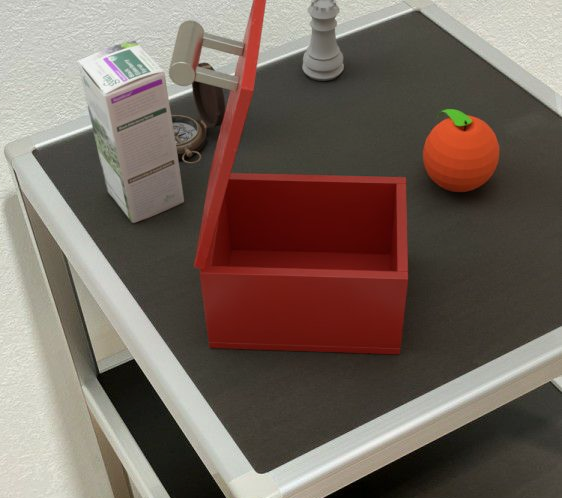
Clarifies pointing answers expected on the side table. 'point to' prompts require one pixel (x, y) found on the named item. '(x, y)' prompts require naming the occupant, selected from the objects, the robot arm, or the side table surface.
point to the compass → (211, 112)
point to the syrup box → (133, 129)
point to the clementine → (460, 152)
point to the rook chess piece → (323, 42)
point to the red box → (308, 264)
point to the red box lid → (236, 110)
